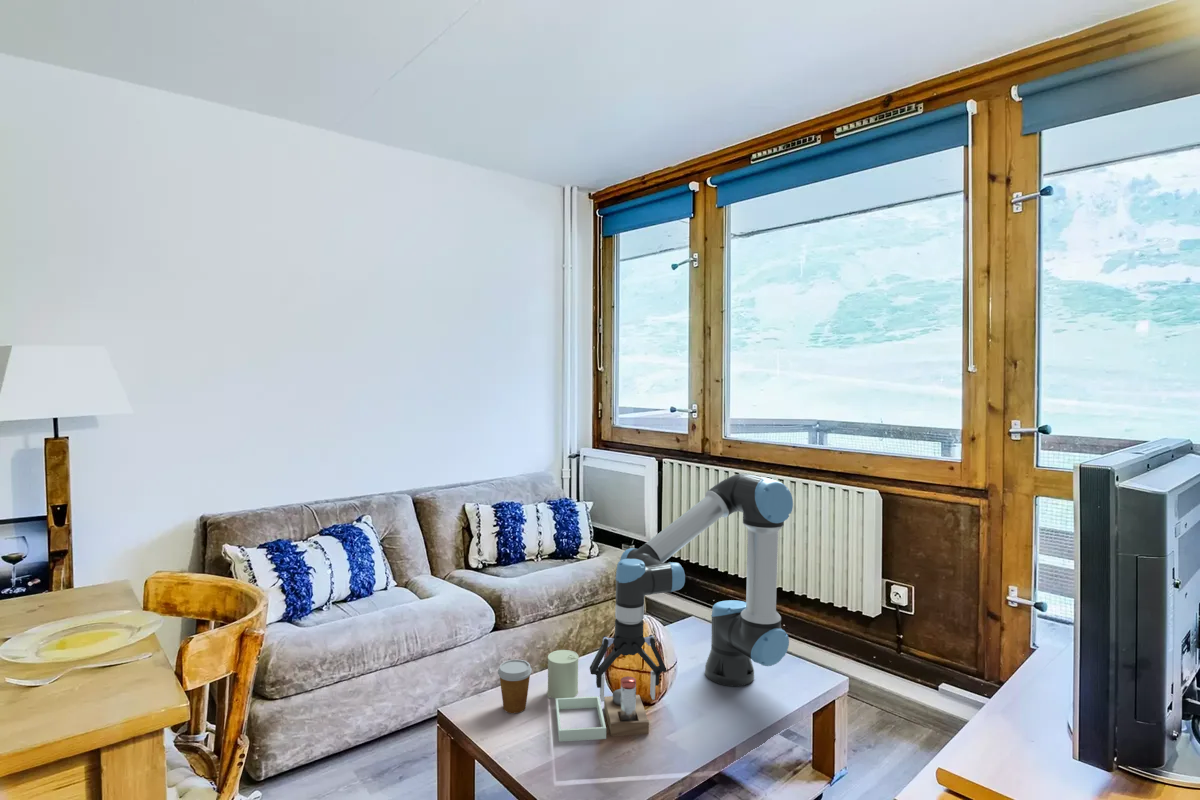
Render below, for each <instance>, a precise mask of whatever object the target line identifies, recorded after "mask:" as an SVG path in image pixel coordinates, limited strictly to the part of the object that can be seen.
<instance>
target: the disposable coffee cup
mask: <svg viewBox="0 0 1200 800" xmlns="http://www.w3.org/2000/svg"><path fill="white" fill-rule="evenodd" d="M532 671H533V670H532V666H531V664H530V662H528V661H527V660H525V659H516V658H515V659H508V660H506V661H503V662H502V663H501V664H499V668H498V670H497V674H498V677H499V682H500V689H501V698H502V705H503V711H504V712H506V713H508V714H518V713H519V714H520V713H522V712H524V711H525V710H526V709H527V701H528V694H529V693H528V692H529V685H530V678H531V673H532Z"/></svg>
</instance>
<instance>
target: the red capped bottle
mask: <svg viewBox="0 0 1200 800" xmlns="http://www.w3.org/2000/svg"><path fill="white" fill-rule="evenodd" d="M620 689H621V714H620V722H625V721H635V719H636V695H637V679H636V678H635V677H633V676H629V675H628V676H627V675H626V676H623V677H622V678H621V679H620Z"/></svg>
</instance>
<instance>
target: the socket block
mask: <svg viewBox="0 0 1200 800" xmlns="http://www.w3.org/2000/svg"><path fill="white" fill-rule="evenodd" d="M603 710H604V713H605V717H606V720H607V721H606V722H607V725H608V730H609V733H610V734H609V735H610V737H618V736H619V737H620V736H622V737H623V736H636V735H649V734H650V729H649V728H650V721H649V718H648V716H647V713H646V709H645V707H644V704H643V702H642V699H641V696H640V694H636V719H635V721H625V722H620V714H621V688H619V689H615V690H614V691H613V692H612V695H611V696H609V695H606V696H604V701H603Z"/></svg>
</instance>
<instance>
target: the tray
mask: <svg viewBox="0 0 1200 800" xmlns="http://www.w3.org/2000/svg"><path fill="white" fill-rule="evenodd" d="M601 704H602V702H601V699H600V695H598V696H579V697H576V696H575V697H574V698H556V699H555V716H556V727H557V728H556V729H557V735H558V737H557V738H558V742H573V741H574V742H577V741H592V740H593V741H594V740H607V727H606V722H605V721H606V720H605V717H604V712H603V709H602V705H601ZM592 708H594V709H595V708H597V709H596V711H597V715H598V719H599V723H600V726H596V727H581V728H579V727H578V728H562V724H561V716H560V710H570V709H571V710H572V709H592Z"/></svg>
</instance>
